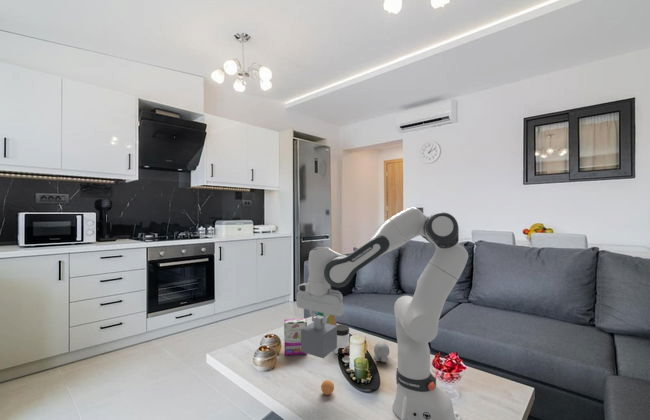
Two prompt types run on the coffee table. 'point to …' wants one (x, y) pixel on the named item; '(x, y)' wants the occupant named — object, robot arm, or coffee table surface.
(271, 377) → the coffee table surface
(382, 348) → the chubby cartoon animal
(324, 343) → the grey faceted cube
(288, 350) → the candy bar box
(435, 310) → the robot arm
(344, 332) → the jar
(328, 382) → the ball
